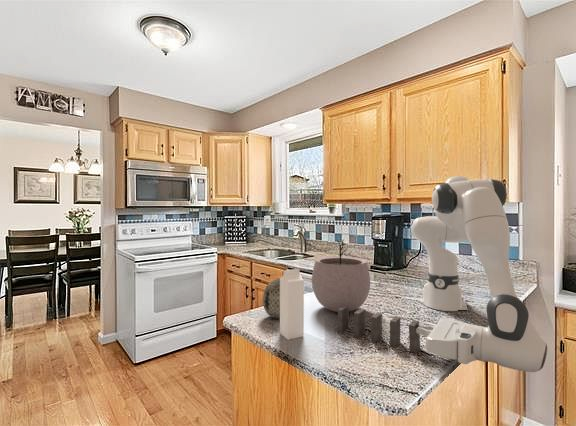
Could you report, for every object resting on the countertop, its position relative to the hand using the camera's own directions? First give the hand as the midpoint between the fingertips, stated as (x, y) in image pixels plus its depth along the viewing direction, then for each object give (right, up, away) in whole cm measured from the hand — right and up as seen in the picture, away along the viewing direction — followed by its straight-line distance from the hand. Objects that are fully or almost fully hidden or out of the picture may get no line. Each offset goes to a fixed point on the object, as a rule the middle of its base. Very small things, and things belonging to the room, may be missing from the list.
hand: (417, 328), depth 94 cm
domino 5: (0, -6, 0) cm, 6 cm away
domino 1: (-20, -6, +15) cm, 25 cm away
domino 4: (-5, -6, +4) cm, 9 cm away
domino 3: (-10, -6, +8) cm, 14 cm away
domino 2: (-15, -6, +11) cm, 20 cm away
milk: (-38, -6, +11) cm, 40 cm away
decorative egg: (-43, -6, +27) cm, 51 cm away
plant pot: (-17, -6, +37) cm, 41 cm away
